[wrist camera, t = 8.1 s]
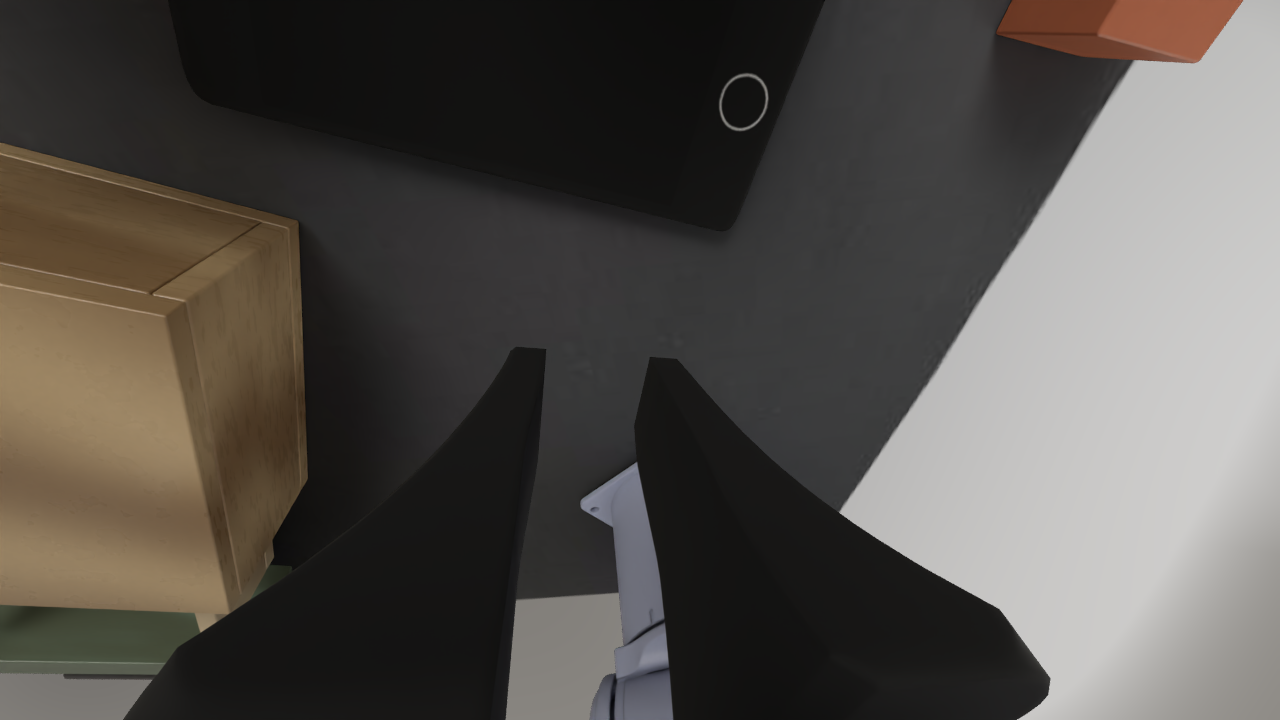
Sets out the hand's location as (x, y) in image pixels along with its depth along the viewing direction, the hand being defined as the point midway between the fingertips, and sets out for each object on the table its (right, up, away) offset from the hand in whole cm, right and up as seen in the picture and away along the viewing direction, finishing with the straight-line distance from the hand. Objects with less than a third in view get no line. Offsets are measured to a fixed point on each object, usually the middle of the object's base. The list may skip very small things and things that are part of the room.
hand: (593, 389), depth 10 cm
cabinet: (-20, +1, +9) cm, 22 cm away
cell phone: (-3, +11, +4) cm, 12 cm away
